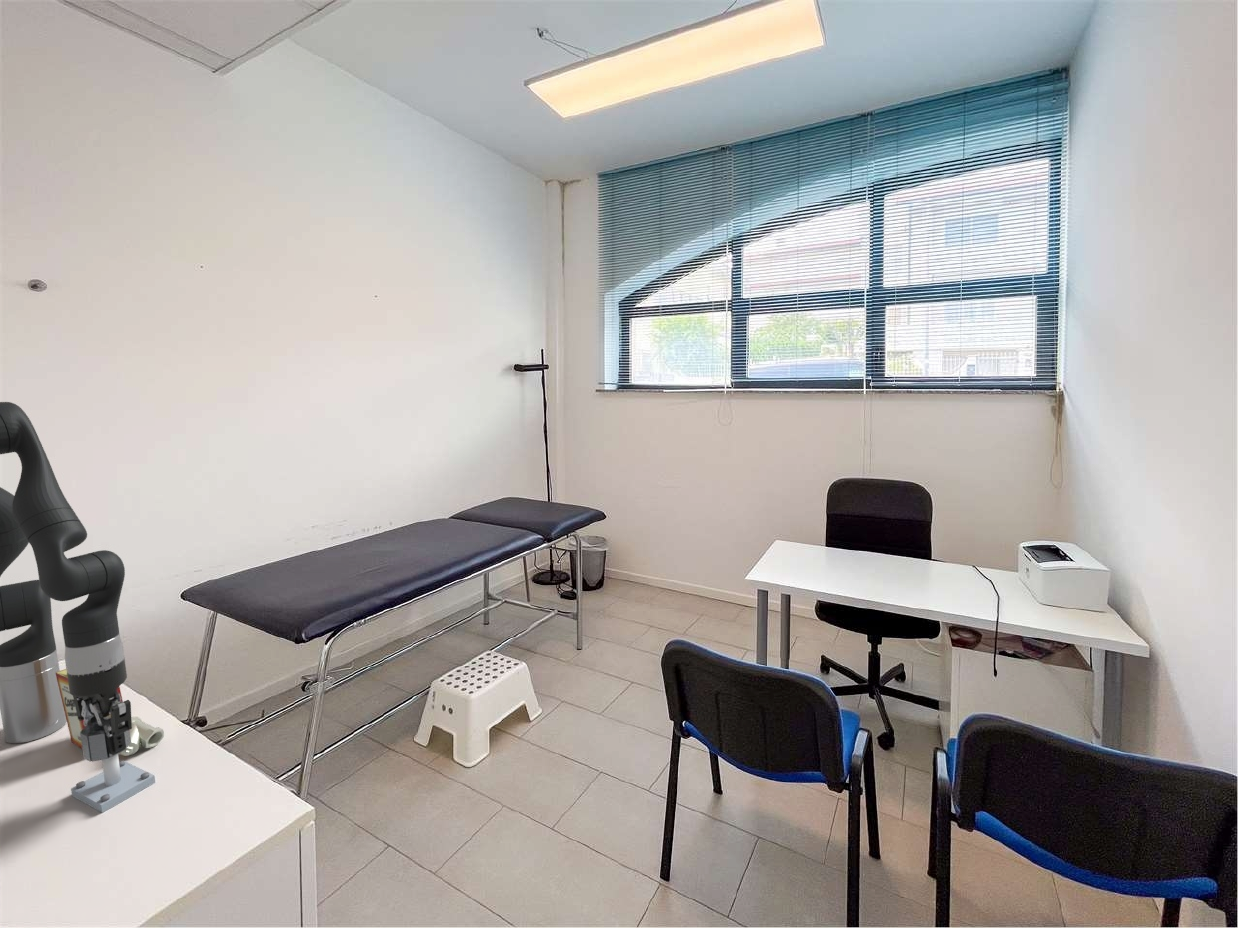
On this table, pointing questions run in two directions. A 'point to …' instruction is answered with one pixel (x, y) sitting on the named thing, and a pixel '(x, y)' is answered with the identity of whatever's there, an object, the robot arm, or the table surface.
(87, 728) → the hub
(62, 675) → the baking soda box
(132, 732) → the pipe fitting
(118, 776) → the mounting base with peg
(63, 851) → the table surface
